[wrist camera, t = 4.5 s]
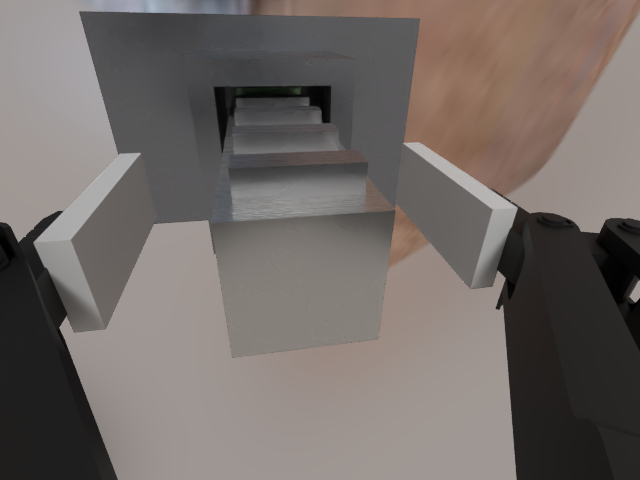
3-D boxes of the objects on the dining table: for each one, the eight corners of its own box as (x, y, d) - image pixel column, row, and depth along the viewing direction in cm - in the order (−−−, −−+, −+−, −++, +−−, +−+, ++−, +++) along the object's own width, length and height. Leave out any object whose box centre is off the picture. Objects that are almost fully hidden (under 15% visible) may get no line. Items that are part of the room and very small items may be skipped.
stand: (142, 216, 25) (91, 311, 17) (88, 12, 19) (-34, 2, 11) (389, 200, 28) (451, 274, 20) (411, 18, 22) (514, 14, 14)
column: (240, 174, 23) (235, 378, 10) (230, 80, 21) (205, 186, 7) (301, 171, 24) (375, 358, 11) (300, 80, 21) (399, 176, 8)
